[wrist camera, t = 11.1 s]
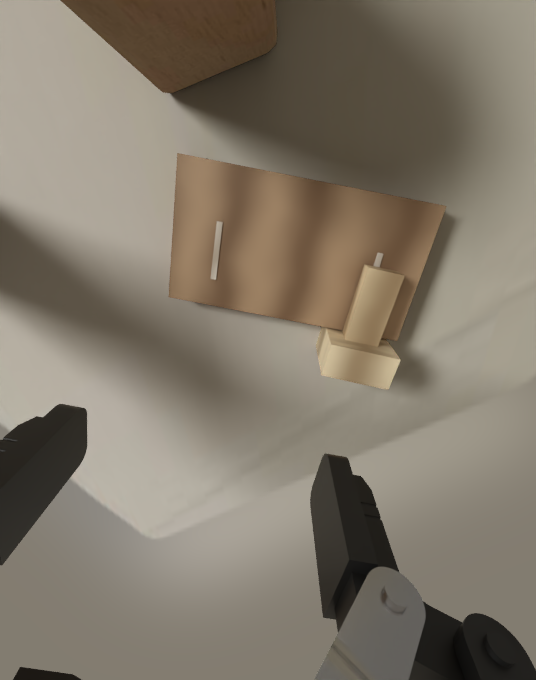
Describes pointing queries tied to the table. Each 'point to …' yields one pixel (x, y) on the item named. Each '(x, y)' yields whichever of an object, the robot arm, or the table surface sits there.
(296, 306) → the oak board
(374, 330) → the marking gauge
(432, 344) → the table surface
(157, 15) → the wooden block
